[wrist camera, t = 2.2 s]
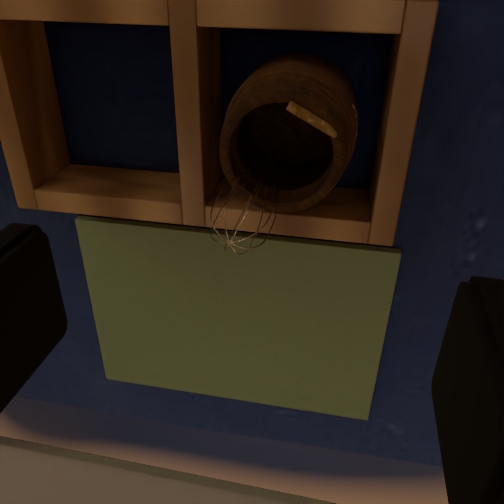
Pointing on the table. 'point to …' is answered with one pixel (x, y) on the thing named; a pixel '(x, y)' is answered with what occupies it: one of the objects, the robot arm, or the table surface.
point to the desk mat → (240, 313)
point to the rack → (204, 114)
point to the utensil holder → (287, 135)
